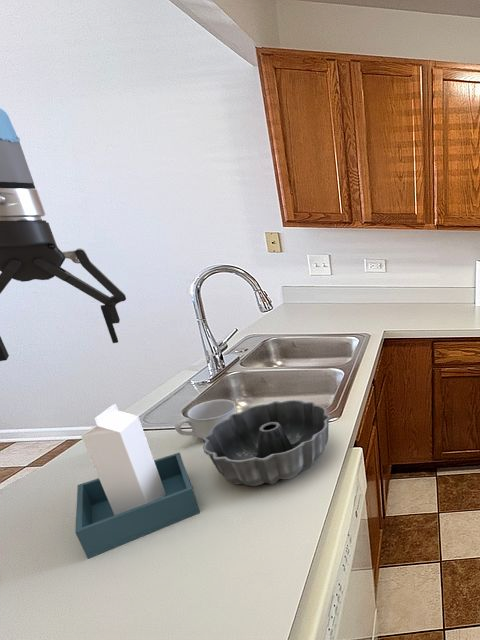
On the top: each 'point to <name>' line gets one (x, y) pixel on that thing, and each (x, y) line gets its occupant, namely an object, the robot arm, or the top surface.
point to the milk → (123, 460)
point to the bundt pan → (268, 441)
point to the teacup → (206, 417)
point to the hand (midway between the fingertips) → (63, 349)
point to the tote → (133, 510)
